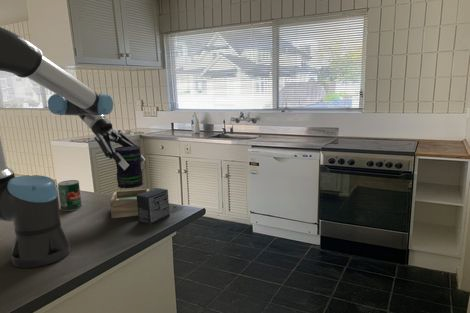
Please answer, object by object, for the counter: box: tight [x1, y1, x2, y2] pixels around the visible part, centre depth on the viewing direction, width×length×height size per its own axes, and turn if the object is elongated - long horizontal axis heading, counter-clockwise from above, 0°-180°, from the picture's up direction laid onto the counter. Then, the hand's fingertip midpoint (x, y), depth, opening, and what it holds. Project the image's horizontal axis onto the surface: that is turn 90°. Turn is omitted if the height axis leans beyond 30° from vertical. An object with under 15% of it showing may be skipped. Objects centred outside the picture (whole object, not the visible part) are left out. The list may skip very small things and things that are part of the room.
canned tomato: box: [57, 179, 83, 212], centre depth 143 cm, size 8×8×11 cm
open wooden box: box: [109, 188, 150, 219], centre depth 139 cm, size 14×14×6 cm
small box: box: [136, 187, 171, 226], centre depth 129 cm, size 11×6×10 cm, turn 149°
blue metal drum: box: [114, 145, 144, 189], centre depth 136 cm, size 10×10×15 cm
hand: (135, 164), depth 135 cm, fingers closed on blue metal drum, 10 cm apart
